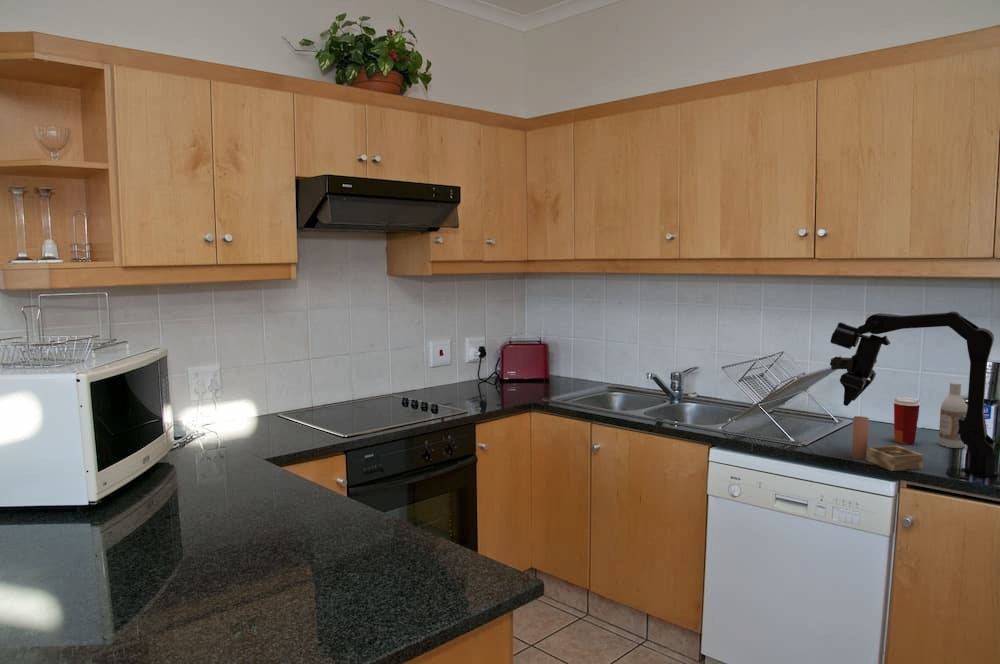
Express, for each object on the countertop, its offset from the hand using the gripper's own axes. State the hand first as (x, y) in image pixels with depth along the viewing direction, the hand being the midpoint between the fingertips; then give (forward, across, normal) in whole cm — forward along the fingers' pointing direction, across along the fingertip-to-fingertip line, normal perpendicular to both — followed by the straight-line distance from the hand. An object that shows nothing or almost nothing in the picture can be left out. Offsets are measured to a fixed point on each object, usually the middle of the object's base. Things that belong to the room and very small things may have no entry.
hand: (848, 402), depth 212 cm
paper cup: (+12, -24, +16) cm, 31 cm away
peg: (+14, +3, +8) cm, 16 cm away
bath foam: (+9, -28, +28) cm, 40 cm away
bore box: (+11, +5, +17) cm, 21 cm away
